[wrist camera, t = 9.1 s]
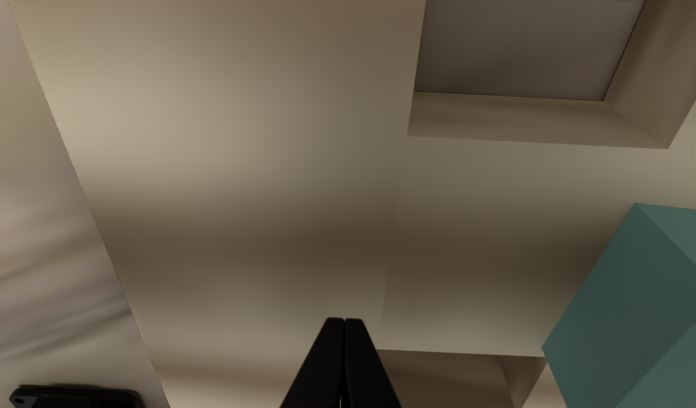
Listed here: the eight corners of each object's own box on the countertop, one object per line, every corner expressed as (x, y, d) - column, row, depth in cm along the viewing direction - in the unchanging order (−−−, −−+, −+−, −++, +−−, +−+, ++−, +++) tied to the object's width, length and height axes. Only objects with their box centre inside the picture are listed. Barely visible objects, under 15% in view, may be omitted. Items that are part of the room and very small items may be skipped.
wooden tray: (657, 371, 19) (748, 509, 15) (196, 350, 19) (146, 482, 15) (1057, -100, 9) (1780, -119, 4) (52, -156, 9) (-279, -239, 4)
